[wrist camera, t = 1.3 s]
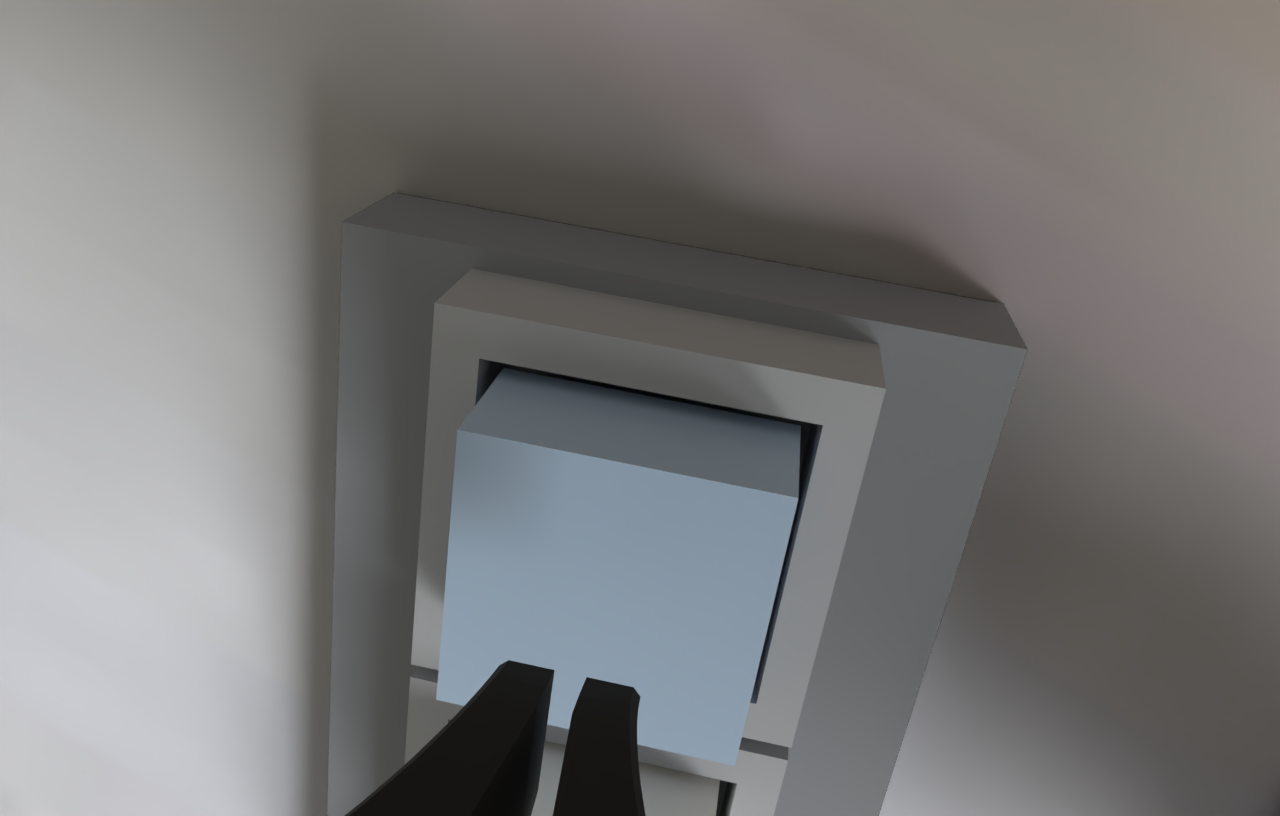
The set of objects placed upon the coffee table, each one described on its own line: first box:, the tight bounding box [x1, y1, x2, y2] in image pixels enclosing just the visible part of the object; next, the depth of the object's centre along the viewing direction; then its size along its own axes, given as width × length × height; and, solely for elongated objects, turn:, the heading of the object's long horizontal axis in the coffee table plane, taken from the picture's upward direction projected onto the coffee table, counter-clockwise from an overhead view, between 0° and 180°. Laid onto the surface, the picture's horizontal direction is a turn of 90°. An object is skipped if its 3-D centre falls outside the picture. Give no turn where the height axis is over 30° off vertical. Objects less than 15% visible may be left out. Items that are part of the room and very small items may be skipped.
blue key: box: [436, 368, 801, 766], centre depth 17 cm, size 5×5×2 cm
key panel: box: [327, 193, 1028, 816], centre depth 23 cm, size 12×23×4 cm, turn 172°
